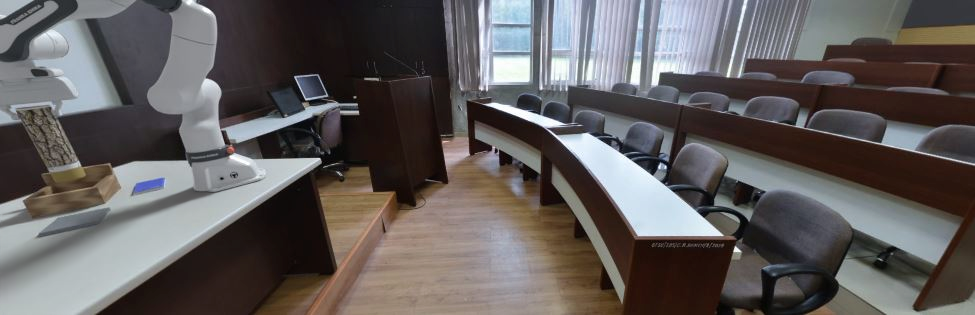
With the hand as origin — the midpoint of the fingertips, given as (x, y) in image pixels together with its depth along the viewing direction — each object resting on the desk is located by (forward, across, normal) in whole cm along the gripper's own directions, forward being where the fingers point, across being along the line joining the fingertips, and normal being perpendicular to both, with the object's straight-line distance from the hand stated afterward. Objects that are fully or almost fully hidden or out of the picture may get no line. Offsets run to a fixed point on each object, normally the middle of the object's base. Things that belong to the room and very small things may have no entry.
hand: (38, 117), depth 102 cm
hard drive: (+31, +17, +2) cm, 35 cm away
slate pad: (+30, +6, -22) cm, 37 cm away
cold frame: (+30, 0, 0) cm, 30 cm away
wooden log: (+22, 0, 0) cm, 22 cm away
